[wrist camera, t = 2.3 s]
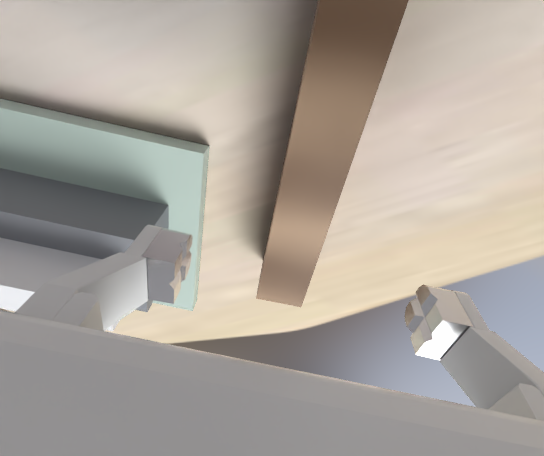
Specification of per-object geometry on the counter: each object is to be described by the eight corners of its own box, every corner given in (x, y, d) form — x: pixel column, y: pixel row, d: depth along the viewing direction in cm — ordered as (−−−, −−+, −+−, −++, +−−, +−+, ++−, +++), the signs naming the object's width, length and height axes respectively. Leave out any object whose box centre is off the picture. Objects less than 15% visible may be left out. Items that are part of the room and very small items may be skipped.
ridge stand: (-99, 76, 18) (-327, 117, 12) (209, 146, 19) (155, 222, 12) (-15, 255, 26) (-121, 337, 20) (196, 299, 27) (160, 394, 20)
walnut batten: (329, -57, 13) (336, -76, 10) (399, -42, 13) (427, -56, 10) (263, 258, 24) (256, 298, 21) (302, 265, 24) (301, 307, 21)
